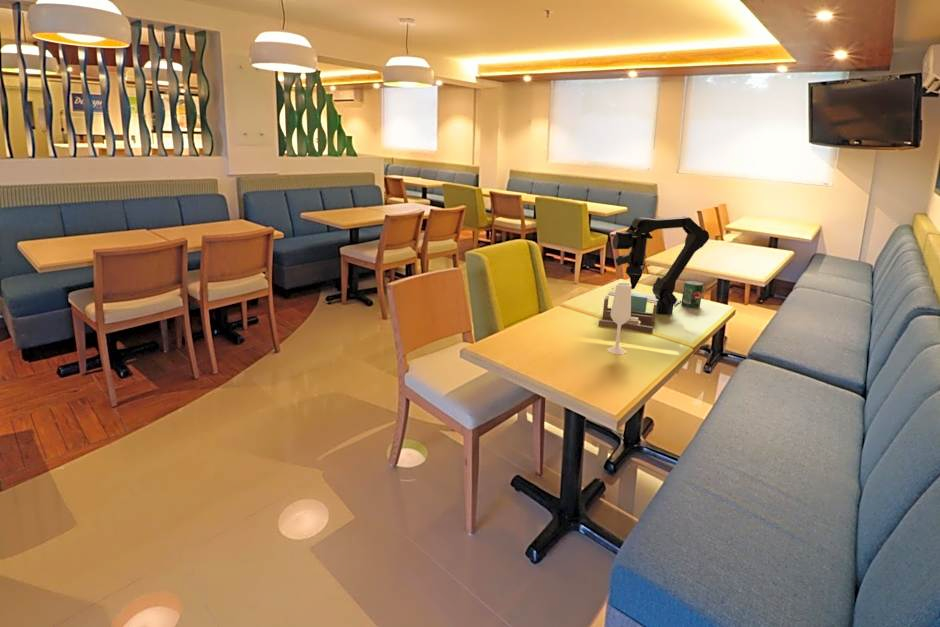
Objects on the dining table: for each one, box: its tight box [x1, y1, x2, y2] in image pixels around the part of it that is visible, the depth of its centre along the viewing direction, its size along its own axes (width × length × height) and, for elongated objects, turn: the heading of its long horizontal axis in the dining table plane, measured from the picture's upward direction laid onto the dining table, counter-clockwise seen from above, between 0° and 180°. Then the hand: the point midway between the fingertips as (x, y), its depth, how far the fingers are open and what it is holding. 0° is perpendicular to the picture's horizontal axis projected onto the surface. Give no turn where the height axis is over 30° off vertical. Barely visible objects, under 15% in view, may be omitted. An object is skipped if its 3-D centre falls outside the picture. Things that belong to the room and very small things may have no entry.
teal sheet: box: [631, 295, 648, 312], centre depth 225 cm, size 2×12×9 cm, turn 68°
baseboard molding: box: [608, 287, 682, 307], centre depth 252 cm, size 31×3×12 cm
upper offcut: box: [626, 317, 639, 325], centre depth 210 cm, size 5×8×1 cm, turn 76°
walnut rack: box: [598, 295, 657, 334], centre depth 213 cm, size 18×20×9 cm
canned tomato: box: [680, 280, 704, 310], centre depth 240 cm, size 8×8×11 cm
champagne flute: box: [607, 281, 632, 355], centre depth 184 cm, size 7×7×24 cm
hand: (633, 286), depth 222 cm, fingers open, 9 cm apart
